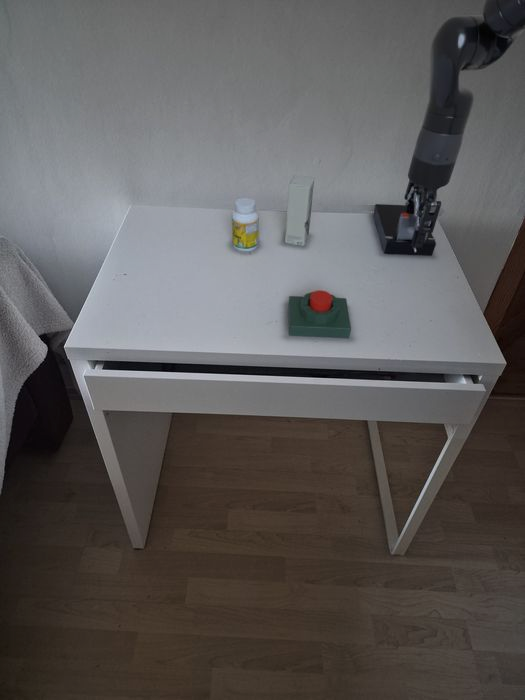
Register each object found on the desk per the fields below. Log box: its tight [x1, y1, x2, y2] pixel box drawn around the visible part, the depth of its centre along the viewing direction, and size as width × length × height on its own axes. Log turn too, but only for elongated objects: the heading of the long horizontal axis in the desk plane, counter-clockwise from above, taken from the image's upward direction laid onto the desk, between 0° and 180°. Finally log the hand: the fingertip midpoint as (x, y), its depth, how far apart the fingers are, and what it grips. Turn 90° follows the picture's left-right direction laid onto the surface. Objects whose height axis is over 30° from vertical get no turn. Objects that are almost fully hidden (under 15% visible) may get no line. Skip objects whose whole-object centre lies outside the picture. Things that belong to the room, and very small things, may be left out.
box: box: [284, 174, 315, 247], centre depth 91 cm, size 5×4×13 cm
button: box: [309, 289, 332, 312], centre depth 74 cm, size 4×4×2 cm
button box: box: [288, 291, 352, 339], centre depth 75 cm, size 10×8×4 cm
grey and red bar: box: [395, 213, 428, 241], centre depth 89 cm, size 6×2×5 cm, turn 88°
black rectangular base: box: [372, 203, 437, 257], centre depth 95 cm, size 20×10×3 cm, turn 178°
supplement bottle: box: [231, 197, 260, 252], centre depth 90 cm, size 5×5×10 cm
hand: (411, 235), depth 90 cm, fingers open, 8 cm apart
